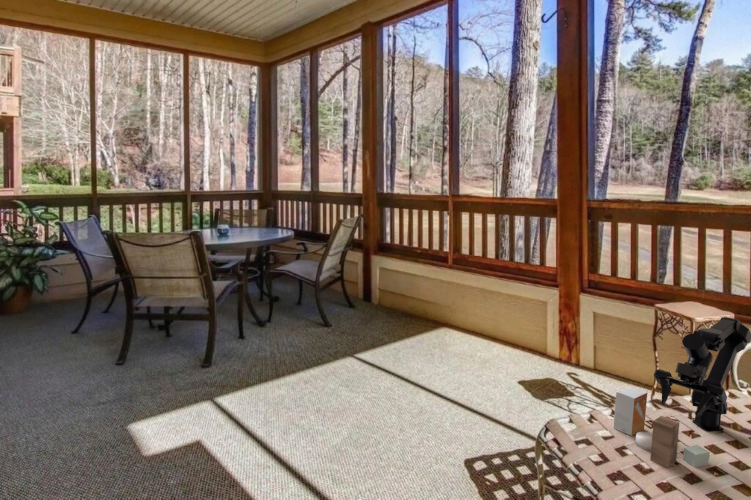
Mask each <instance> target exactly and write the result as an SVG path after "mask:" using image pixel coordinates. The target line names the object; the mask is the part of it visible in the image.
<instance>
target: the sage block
mask: <svg viewBox="0 0 751 500" xmlns="http://www.w3.org/2000/svg"><path fill="white" fill-rule="evenodd" d="M682 460H683V461H684V462H686V463H688V465H690V466H692V467H693V468H699V467H703V466H708V465H709V462H710V451H709V450H707V449H705V448H704V447H702V446H700V445H698V444H696V445H690V446H685V447H683V453H682Z"/></svg>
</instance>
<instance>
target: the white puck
mask: <svg viewBox="0 0 751 500" xmlns="http://www.w3.org/2000/svg"><path fill="white" fill-rule="evenodd" d="M635 445H636V446H637V447H638V448H640V449H642V450H644V451H651V446H652V433H651V432H648V431H639V432H637V433H635Z"/></svg>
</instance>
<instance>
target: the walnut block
mask: <svg viewBox="0 0 751 500" xmlns="http://www.w3.org/2000/svg"><path fill="white" fill-rule="evenodd" d="M679 432H680V421H677V420H674V419H672V418H668V417H666V416H663V415H660V416H659V417H657V418H656V419H654V420H653V422H652V433H651V434H652V446H651V450H650V460H649V461H651V462H654V463H656V464H658V465H661V466H663V467H665V468H666V469H670V468H671V467H672V466H673V465H674V464H675V463H676V462H677V456H678V446H679V445H678V443H679Z"/></svg>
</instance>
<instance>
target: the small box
mask: <svg viewBox="0 0 751 500" xmlns="http://www.w3.org/2000/svg"><path fill="white" fill-rule="evenodd" d="M647 401H648V392H647V391H644V390H641V389H638V388H637V387H633V386H631V385H629V386H626V387H624V388H622V389H620V390H618V391H616V392H615V403H614V404H615V405H614V406H615V407H614V417H613V419H614V421H613V428H614V429H615V430H617V431H619V432H622V433H623V434H626V435H628V436H631V437H632V436H634V435H636V433H637V432H642V431H643V430H645V425H646V423H645V421H646V411H647Z"/></svg>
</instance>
